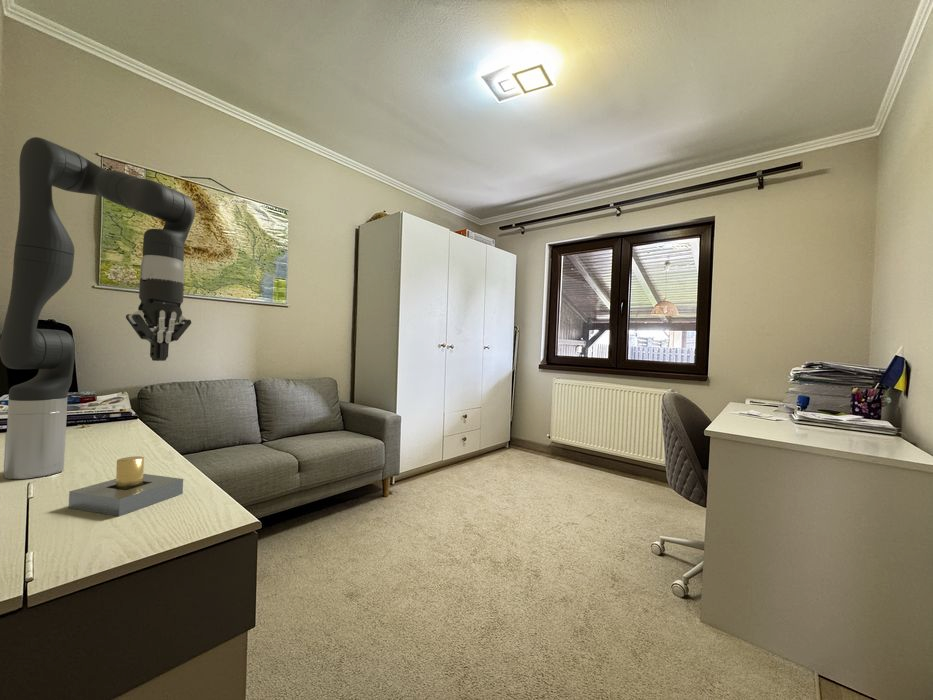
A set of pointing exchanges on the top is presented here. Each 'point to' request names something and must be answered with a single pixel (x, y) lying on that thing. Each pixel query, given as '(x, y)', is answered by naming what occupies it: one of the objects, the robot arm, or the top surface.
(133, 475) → the brass cylinder
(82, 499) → the frame
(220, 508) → the top surface
